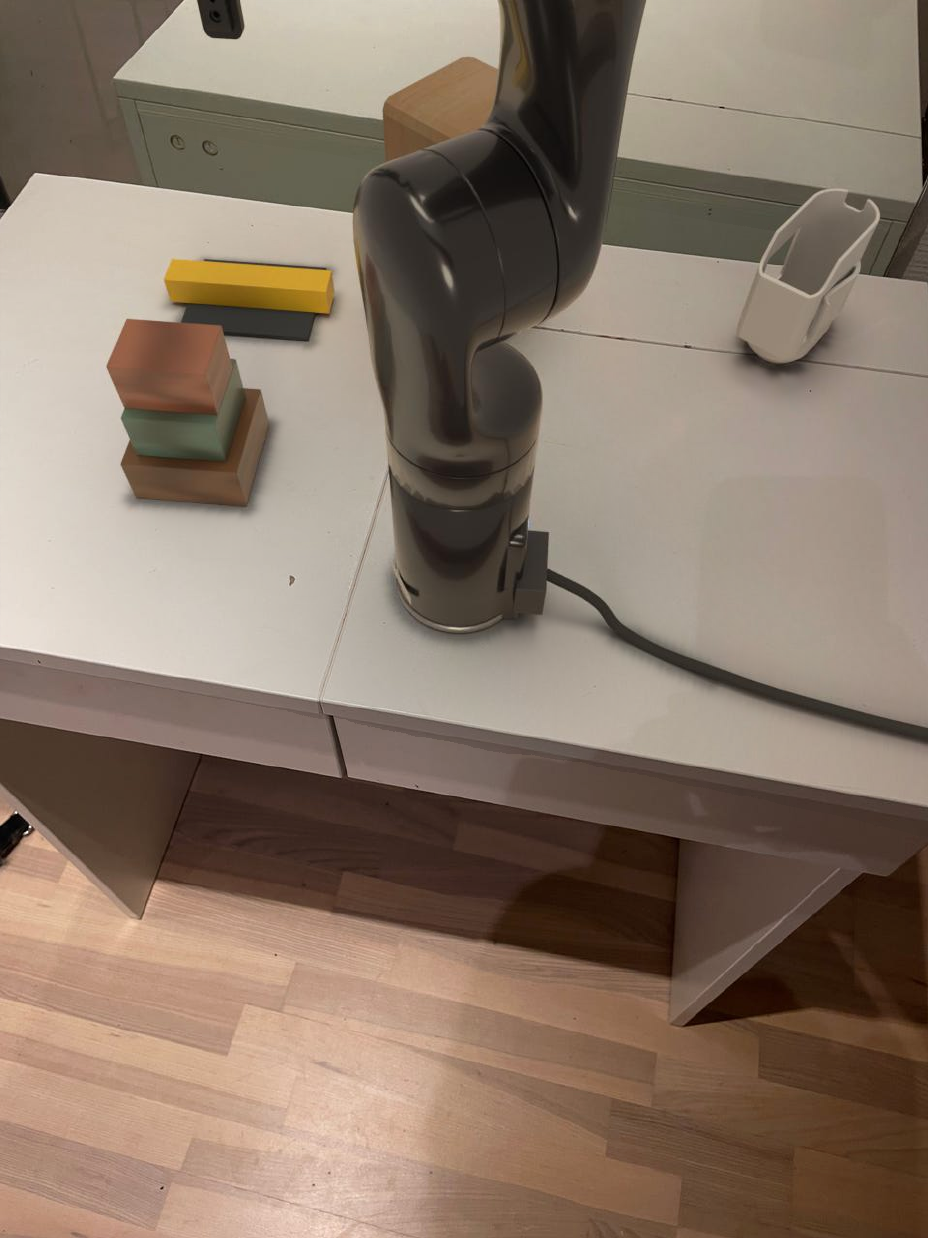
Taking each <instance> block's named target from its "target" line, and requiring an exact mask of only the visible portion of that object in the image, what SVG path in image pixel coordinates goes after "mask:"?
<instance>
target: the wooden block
mask: <svg viewBox="0 0 928 1238" xmlns="http://www.w3.org/2000/svg"><path fill="white" fill-rule="evenodd" d="M497 75H498V68H497V67H495V66H492V65H490V64H488V63H487V62H484V61H482V60H480V59H478V58H476V57H475V56H461V57H460V58H458V59H456V60H453V61H452V62H450V63H449V64H447V65H445V66H443V67H441V68H439V69H437V70H435V71H433V72H431V73H430V74H428V75H425V76H424V77H422V78H420V79H419V80H417V81H415V82H413V83H411V84H409V85H408V86H406V87H404V88H401V89H400V90H398V91H396V92H395V93H393V94H390V95H389V96H388V97H387V98H386V100H384V102H383V106H382V125H383V126H382V127H383V141H384V158H385V159H384V160H385V163H386V162H389V161H391V160H394V159H397V158H399V157H402V156H405V155H408V154H411V153H414V152H416V151H419V150H421V149H424V148H427V147H430V146H432V145H435V144H438V143H441V142H443V141H446V140H449V139H452V138H455V137H457V136H460V135H463V134H466V133H468V132H472V131H474V130H477V129H479V128H481V127H482V125H483V124H484V122H485V121H486V119H487V117H488V115H489V113H490V110H491V106H492V103H493V99H494V95H495V89H496V84H497Z"/></svg>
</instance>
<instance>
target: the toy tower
mask: <svg viewBox="0 0 928 1238" xmlns="http://www.w3.org/2000/svg"><path fill="white" fill-rule="evenodd" d="M105 367H106V369H107V372H108V374H109V377H110V379H111V381H112V383H113V386H114V389H115V390H116V392H117V395H118V397H119V399H120V402H121V404H122V407H123V411H122V414H121V416H120V420H121V422H122V425H123V427H124V429H125V431H126V434H127V436H128V438H129V441H128V442H127V445H126V448H125V451H124V454H123V456H122V459H121V461H120V467H121V469H122V471H123V473H124V476H125V477H126V480H127V482H128V484H129V486H130V488H131V490H132V492H133V495H134V497H135V498H137V499H149V500H150V499H151V500H161V501H173V502H174V501H175V502H185V503H199V504H212V505H213V504H214V505H222V506H223V505H225V506H237V507H247V506H248V503H249V500H250V496H251V492H252V488H253V484H254V481H255V477H256V474H257V470H258V466H259V462H260V459H261V455H262V451H263V448H264V444H265V441H266V437H267V434H268V433H267V432H268V430H269V427H270V422H269V418H268V413H267V409H266V405H265V401H264V397H263V392H262V390H261V388H260V389H259V388H248V387H247V388H246V387H244V385H243V381H242V378H241V374H240V370H239V366H238V362H237V359H236V358H231V356H230V352H229V348H228V344H227V341H226V338H225V335H224V333H223V330H222V326H220V325H206V324H192V323H181V322H178V321H165V320H164V321H163V320H151V319H138V318H137V319H136V318H126V320H125V321H124V323H123V325H122V328H121V330H120V333H119V335H118V337H117V340H116V342H115V345H114V347H113V349H112V352H111V354H110V357H109V359H108V361H107V364H106V366H105Z"/></svg>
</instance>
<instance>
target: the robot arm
mask: <svg viewBox="0 0 928 1238" xmlns="http://www.w3.org/2000/svg"><path fill="white" fill-rule="evenodd" d="M196 3H197V8H198V12H199V16H200V21H201V25H202V29H203V32H204V33H205V35H206V36H207V37H209V38H211V39H219V40H220V39H221V40H239V39H240V38H241V37H242V35H243V33H244V30H245V27H246V26H245V19H244V15H243V8H242V4H241V0H196ZM497 4H498V12H499V53H498V65H497V66H498V67H497V69H498V75H497V84H496V89H495V95H494V99H493V103H492V106H491V110H490V113H489V115H488V117H487V119H486V121H485V122H484V124H483V125H482V127H481V128H479V129H477V130H474V131H472V132H468V133H466V134H463V135H460V136H457V137H455V138H452V139H449V140H446V141H443V142H441V143H438V144H435V145H432V146H430V147H427V148H424V149H421V150H419V151H416V152H414V153H411V154H408V155H405V156H402V157H399V158H397V159H394V160H391V161H389V162H386V161H385V162H384V163H381V164H379V165H377V166H375V167H374V168H372V169H370V170H369V171H368V172H367V173H366V174H365V175H364V176H363V178H362V180H361V181H360V183H359V185H358V187H357V190H356V194H355V197H354V198H355V199H354V202H353V208H352V209H353V210H352V237H353V240H352V241H353V247H354V254H355V262H356V269H357V275H358V281H359V286H360V292H361V299H362V305H363V310H364V317H365V323H366V329H367V336H368V337H367V338H368V346H369V351H370V352H369V353H370V360H371V365H372V366H371V367H372V370H373V371H372V372H373V375H374V376H373V377H374V379H375V383H376V386H377V390H378V394H379V397H380V401H381V405H382V409H383V421H384V428H385V430H384V431H385V441H386V452H387V454H386V455H387V464H388V465H387V467H388V475H389V476H388V477H389V478H388V479H389V491H390V503H391V505H390V506H391V512H392V513H391V515H392V528H393V543H394V552H395V553H394V554H395V564H394V562H393V561H392V558H390V557H389V559H390V567H391V569H392V572H393V574H394V575H395V578H396V581H395V582H396V588H397V593H398V597H399V599H400V601H401V602H402V605H403V606H404V607H405V609H406V610H407V611H408V612H409V614H411V616H412V617H414V618H415V619H416V620H417V621H418V622H421V623H423V625H425V626H427V627H429V628H432V629H435V630H437V631H441V632H446V633H454V634H466V633H473V632H478V631H481V630H484V629H486V628H490V627H491V626H493V625H495V624H497V623H498V622H500V621H501V620H516V619H517V618H518V614H526V615H539V616H542V615H543V613H544V606H545V601H546V595H547V588H548V587H547V585H548V582H549V583H550V584H552V585H555V586H557V587H559V588H560V589H562V590H565V591H567V592H569V593H571V594H573V595H575V596H576V597H579V598H580V599H582V600H583V601H585V602H587V603H588V604H589V605H590V606H592V607H593V608H595V610H596V611H598V613H599V614H600V615H601V617H602V618H603V619H604V621H605V623H606V624H607V625H608V627H609V628H610V629H611V630H612V631H613V632H614V633H615V634H617V635H618V636H620V637H621V638H623V639H624V640H625V641H627V642H629V643H630V644H631V645H633V646H635V647H637V648H638V649H640V650H642V651H645V652H646V653H648V654H650V655H653V656H654V657H657V658H659V659H661V660H663V661H665V662H668V663H671V664H673V665H676V666H679V667H682V668H684V669H686V670H690V671H693V672H695V673H699V674H701V675H704V676H707V677H709V678H712V679H715V680H718V681H720V682H723V683H725V684H728V685H731V686H734V687H736V688H739V689H742V690H745V691H748V692H751V693H754V694H757V695H760V696H762V697H766V698H769V699H772V700H775V701H779V702H782V703H786V704H789V705H792V706H796V707H799V708H803V709H806V710H810V711H813V712H817V713H820V714H823V715H824V714H825V715H828V716H831V717H834V718H839V719H843V720H846V721H849V722H853V723H857V724H861V725H864V726H869V727H873V728H876V729H881V730H884V731H888V732H892V733H897V734H901V735H905V736H909V737H913V738H918V739H921V740H927V741H928V727H926V726H922V725H918V724H913V723H910V722H904V721H901V720H897V719H896V720H895V719H892V718H887V717H884V716H880V715H876V714H872V713H868V712H864V711H860V710H857V709H853V708H849V707H845V706H842V705H839V704H835V703H832V702H827V701H824V700H821V699H816V698H813V697H809V696H806V695H802V694H799V693H795V692H792V691H788V690H785V689H781V688H778V687H775V686H771V685H769V684H765V683H764V682H759V681H756V680H754V679H751V678H748V677H745V676H742V675H739V674H736V673H735V672H734V673H733V672H731V671H728V670H725V669H724V668H720V667H717V666H714V665H712V664H709V663H706V662H704V661H700V660H697V659H695V658H692V657H689V656H686V655H683V654H681V653H678V652H676V651H673V650H670V649H669V648H665V647H663V646H661V645H659V644H657V643H655V642H653V641H652V640H651V641H650V640H649V639H647V638H645V637H643V636H642V635H640V634H639V633H637V632H635V631H634V630H632V629H631V628H629V627H628V626H627V625H625V624H624V623H622V622H621V621H620V620H619V618H618V617H617V616H616V615H615V613H614V612H613V611H612V609H611V608H610V606H609V604H608V603H607V602H606V601H605V600H604V599H603V598H602V597H600V596H599V595H598V594H597V593H595V592H593V591H592V590H591V589H589V588H587V587H586V586H584V585H582V584H581V583H579V582H577V581H575V580H572V579H570V578H568V577H566V576H564V575H562V574H560V573H558V572H556V571H554V570H552V569H550V568H548V565H549V564H548V562H549V541H550V540H549V538H550V532H549V531H540V530H529V525H530V519H529V518H530V504H531V497H532V490H533V482H534V474H535V467H536V460H537V451H538V443H539V436H540V429H541V421H542V415H543V405H544V393H543V386H542V382H541V379H540V376H539V375H538V372H537V371H536V369H535V367H534V365H533V364H532V363H531V362H530V361H529V359H528V358H526V357H525V356H524V354H523V353H521V352H520V351H519V350H517V349H516V348H515V347H513V346H511V345H510V344H509V343H507V342H504V341H505V340H508V339H510V338H512V337H514V336H517V335H519V334H520V333H523V332H525V331H528V330H529V329H531V328H532V329H533V328H534V327H536V326H538V325H539V324H542V323H545V322H547V321H550V319H553V318H555V317H557V316H558V315H559V314H561V313H562V312H564V311H565V310H567V309H568V308H569V307H571V306H572V305H573V304H574V303H575V302H576V301H577V300H578V299H579V298H580V297H581V296H582V294H583V293H584V292H585V290H586V289H587V287H588V285H589V283H590V281H591V279H592V277H593V275H594V272H595V270H596V267H597V264H598V261H599V257H600V254H601V250H602V246H603V241H604V238H605V233H606V227H607V222H608V216H609V211H610V206H611V198H612V191H613V186H614V180H615V174H616V166H617V160H618V154H619V148H620V142H621V141H620V140H621V136H622V135H621V134H622V127H623V122H624V115H625V109H626V104H627V97H628V93H629V92H628V90H629V85H630V81H631V75H632V69H633V64H634V58H635V54H636V53H635V52H636V47H637V43H638V39H639V35H640V29H641V27H642V26H641V25H642V21H643V20H642V19H643V16H644V13H645V8H646V4H647V0H497Z"/></svg>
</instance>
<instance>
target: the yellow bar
mask: <svg viewBox="0 0 928 1238" xmlns="http://www.w3.org/2000/svg"><path fill="white" fill-rule="evenodd" d="M163 282H164V285H165V288H166V291H167V294H168V297H169V300H170V302H171V303H183V304H188V303H195V304H208V305H221V306H235V307H248V308H261V309H275V310H288V311H301V312H315V313H316V314H330V312H331V308H332V304H333V300H334V296H335V286H334V278H333V271H332V270H329V269H327V270H317V269H303V268H290V267H276V266H262V265H249V264H235V263H222V262H208V261H204V260H195V259H194V260H192V259H181V258H172V259H171V261H170V262H169V265H168V268H167V270H166V273H165V275H164V278H163Z"/></svg>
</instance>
